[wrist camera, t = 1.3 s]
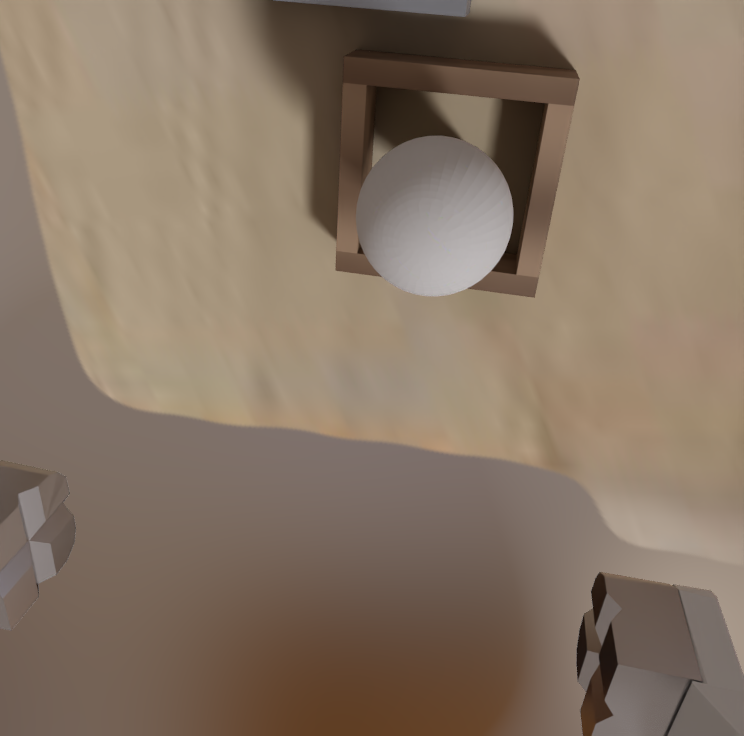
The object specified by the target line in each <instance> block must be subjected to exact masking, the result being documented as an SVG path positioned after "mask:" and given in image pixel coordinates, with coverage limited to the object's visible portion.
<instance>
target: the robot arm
mask: <svg viewBox="0 0 744 736" xmlns="http://www.w3.org/2000/svg"><path fill="white" fill-rule="evenodd" d="M69 494H70V492H69V487H68V483H67V479H66V476H64V475H62V474H60V473H58V472H55V471H50V470H46V469H40V468H36V467H31V466H27V465H22V464H17V463H12V462H8V461H3V460H1V461H0V629H5V630H10V631H11V630H12V629H13V628H14V627H15V626H16V624H17V623H18V622H19V621H20V619H21V618H22V617H23V616H24V614H25V613H26V612H27V611H28V610H29V608H30V607H31V606H32V605H33V603H34V602H35V601H36V600H37V598H38V597H39V587H38V584H39V583H41V582H43V581H44V580H47V579H48V578H50V577H53V576H54V575H57V573H58V572H59V571H60V569H61V568H62V567H63V565H64V564H65V562H66V561H67V560H68V557H69V555H70V552H71V550H72V547H73V545H74V542H75V532H76V526H75V519H74V515H73V514H72V513H71V512H70V511H69V509H68V508H67V507H66V506H65V505H64V503H63V502H64V501H65V499H66V498H67V497H68V495H69ZM591 596H592V604H593V609H591V610H589V611H588V612H586V613H584V615H583V619H582V623H581V626H580V630H579V636H578V643H577V662H576V664H577V665H576V666H577V679H578V682H579V684H580V685H581V686H582V688H583V689H584V690H585V692H586V694H585V697H584V700H583V703H582V706H581V709H580V713H581V722H582V734H583V736H744V675H743V672H742V669H741V666H740V663H739V661H738V657H737V654H736V652H735V649H734V646H733V643H732V640H731V637H730V634H729V631H728V628H727V625H726V623H725V619H724V617H723V614H722V611H721V608H720V605H719V602H718V599H717V596H716V595H715V594H714V593H713V592H712V591H710V590H704V589H698V588H692V587H686V586H680V585H670V584H666V583H660V582H655V581H649V580H643V579H638V578H631V577H626V576H621V575H615V574H609V573H603V572H599V574H598V575H597V577H596V578H595V581H594V584H593V587H592V590H591Z"/></svg>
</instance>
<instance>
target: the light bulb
mask: <svg viewBox="0 0 744 736" xmlns="http://www.w3.org/2000/svg"><path fill="white" fill-rule="evenodd" d="M512 226H513V204H512V197H511V193H510V190H509V186H508V184H507V182H506V180H505V178H504V176H503V174H502V172H501V171H500V169H499V168H498V166H497V165H496V164H495V162H494V161H493V160H492V159H491V158H490V157H489V156H488V155H487V154H486V153H484V152H483V151H481V150H480V149H479V148H477V147H476V146H474V145H472V144H470V143H468V142H466V141H463V140H460V139H457V138H454V137H447V136H425V137H420V138H415V139H412V140H409V141H407V142H404V143H402V144H400V145H399V146H397V147H395V148H393V149H392V150H390V151H389V152H388V153H387V154H385V155H384V156H383V157H382V158H381V159H380V160H379V161H378V162H377V163H376V164H375V165H374V167H373V168H372V169H371V171H370V172H369V174H368V176H367V177H366V179H365V181H364V183H363V186H362V188H361V190H360V194H359V198H358V202H357V209H356V227H357V233H358V237H359V242H360V244H361V247H362V249H363V252H364V254H365V256H366V257H367V259H368V261H369V262H370V264H371V265H372V266H373V268H374V269H375V270H376V271H377V272H378V273H379V274H380V275H381V276H382V277H383V278H384V279H385V280H387V281H388V282H390V283H391V284H392V285H394V286H396V287H398V288H400V289H402V290H404V291H407V292H410V293H413V294H417V295H423V296H443V295H450V294H453V293H457V292H460V291H462V290H464V289H467V288H469V287H471V286H473V285H474V284H476V283H477V282H479V281H480V280H482V279H483V278H484V277H485V276H486V275H487V274H488V273H489V272H491V270H492V269H493V268H494V267H495V265H496V264H497V263H498V262H499V260H500V258H501V257H502V255H503V253H504V252H505V250H506V247H507V244H508V242H509V239H510V236H511V231H512Z"/></svg>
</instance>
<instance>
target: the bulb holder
mask: <svg viewBox="0 0 744 736" xmlns="http://www.w3.org/2000/svg"><path fill="white" fill-rule="evenodd" d="M579 80H580V79H579V77H578V74H577V72H576V70H569V69H559V68H548V67H538V66H527V65H516V64H506V63H495V62H485V61H474V60H463V59H453V58H442V57H432V56H421V55H410V54H400V53H389V52H379V51H368V50H358V49H356V50H354V51H353V52H351V53H349V54H347V55H346V56H344V65H343V91H342V117H341V142H340V168H339V194H338V220H337V246H336V271H343V272H350V273H358V274H365V275H372V276H380V277H382V276H381V275H380V274H379V273H378V272H377V271H376V270H375V269H374V268H373V266H372V265H371V264H370V262H369V261H368V259H367V257H366V256H365V254H364V252H363V249H362V247H361V244H360V242H359V237H358V233H357V227H356V209H357V202H358V198H359V194H360V190H361V188H362V186H363V183H364V181H365V179H366V177H367V176H368V174H369V172H370V171H371V169H372V153H373V137H374V121H375V106H376V90H377V86H380V87H390V88H400V89H410V90H420V91H430V92H440V93H449V94H459V95H469V96H479V97H489V98H499V99H509V100H519V101H529V102H539V103H545V105H544V111H543V116H542V121H541V127H540V132H539V138H538V143H537V148H536V154H535V159H534V165H533V170H532V175H531V181H530V186H529V192H528V197H527V202H526V208H525V213H524V219H523V224H522V229H521V235H520V240H519V246H518V251H517V254H509V253H503V255H502V257H501V258H500V260H499V262H498V263H497V264H496V265H495V267H494V268H493V269H492V270H491V272H489V273H488V274H487V275H486V276H485V277H484V278H483V279H482V280H480V281H479V282H477V283H476V284H474V285H473V286H471V287H469V288H468V289H475V290H483V291H490V292H497V293H505V294H512V295H519V296H527V297H534V298H535V293H536V288H537V283H538V278H539V274H540V269H541V264H542V259H543V254H544V249H545V245H546V240H547V235H548V230H549V225H550V220H551V215H552V211H553V206H554V201H555V196H556V191H557V186H558V182H559V177H560V172H561V167H562V162H563V157H564V153H565V148H566V143H567V138H568V133H569V128H570V124H571V119H572V114H573V109H574V104H575V99H576V94H577V90H578V85H579Z"/></svg>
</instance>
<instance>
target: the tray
mask: <svg viewBox="0 0 744 736" xmlns="http://www.w3.org/2000/svg"><path fill="white" fill-rule="evenodd" d="M275 1H287V2H298V3H310V4H321V5H333V6H344V7H356V8H367V9H379V10H390V11H402V12H414V13H425V14H437V15H448V16H460V17H466V16H467V15H468V14H469V13H470V5H471V0H275Z"/></svg>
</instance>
